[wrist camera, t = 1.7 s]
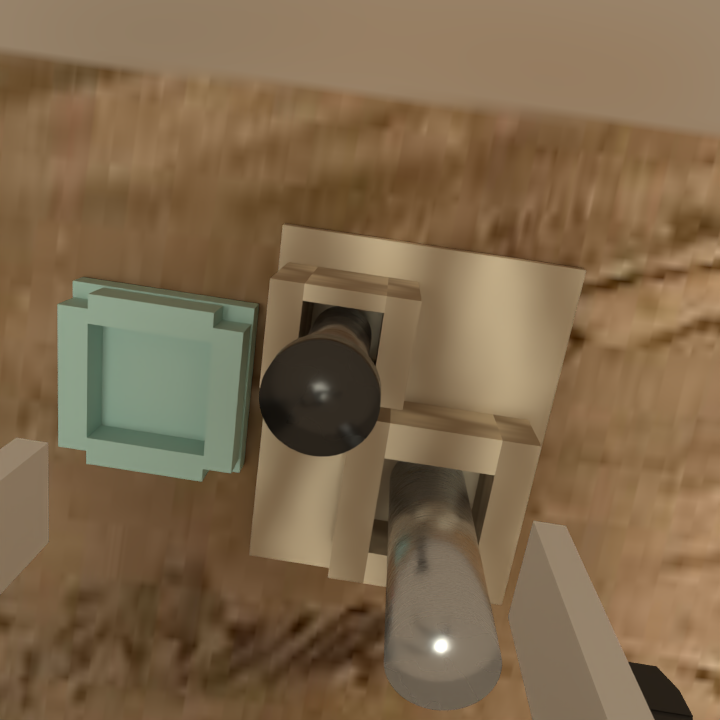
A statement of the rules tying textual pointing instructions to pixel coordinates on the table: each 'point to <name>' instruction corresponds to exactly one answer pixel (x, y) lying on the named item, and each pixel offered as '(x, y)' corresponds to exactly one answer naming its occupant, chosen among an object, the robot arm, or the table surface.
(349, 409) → the black mushroom head peg
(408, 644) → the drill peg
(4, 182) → the table surface
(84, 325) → the tray
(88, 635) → the table surface
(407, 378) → the socket block
